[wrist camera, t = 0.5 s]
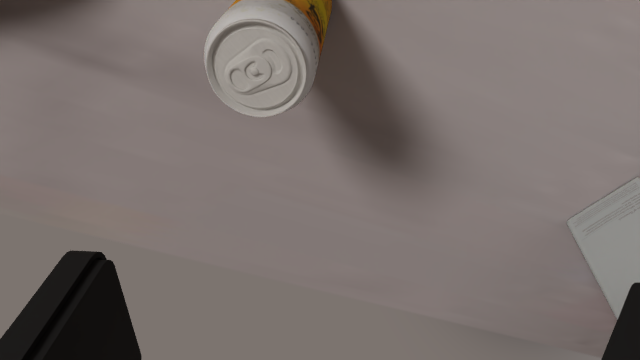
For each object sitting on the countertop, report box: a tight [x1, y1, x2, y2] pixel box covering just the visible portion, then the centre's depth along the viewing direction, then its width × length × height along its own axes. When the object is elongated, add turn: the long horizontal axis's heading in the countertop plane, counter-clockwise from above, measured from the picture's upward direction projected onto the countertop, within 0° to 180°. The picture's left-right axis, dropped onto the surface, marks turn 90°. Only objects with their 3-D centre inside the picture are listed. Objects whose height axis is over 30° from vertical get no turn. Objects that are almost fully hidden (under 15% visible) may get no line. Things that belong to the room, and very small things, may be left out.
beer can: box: [204, 0, 332, 117], centre depth 34 cm, size 6×6×15 cm
